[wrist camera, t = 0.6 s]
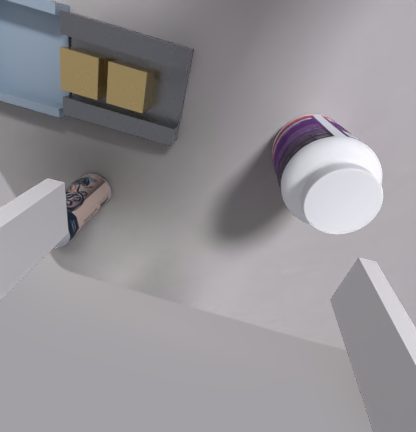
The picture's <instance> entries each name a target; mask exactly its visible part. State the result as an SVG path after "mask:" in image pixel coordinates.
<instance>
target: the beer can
mask: <svg viewBox="0 0 416 432" xmlns="http://www.w3.org/2000/svg"><path fill="white" fill-rule="evenodd" d="M65 194H66V207H67V220H68V234H67V235H66V236H65V237H64V238H63V239H62V240H61V241H60V242H59V243H58V244H57V245H56V246H55V247H54V248H53V249H57V248H60V247H63V246H65V245H66V244H67V243H68V242H69V241H70V240H71V239H72V238H73V237H74V236H75V235H76V234H77V233H78V232H79V230H80V229H81V228H82V227H83V226H84V225H85V224H86V223H87V222H88V221H89V220H90V219H91V218H92V217H93V216H94V215H95V214H96V213H97V212H98V211H99V210H100V209H101V208H102V207H103V206H104V205H105V204H106V202H108V201H109V199H110V197H111V188H110V186H109V184H108V183H107V181H106V180H105V179H104V178H102V177H101V176H99V175H96V174H92V173H89V174H85V175H83V176H82V177H80V178H79V179H77V180H76V181H75V182H73V183H72V184H71V185H69V186H68V187H66V188H65Z"/></svg>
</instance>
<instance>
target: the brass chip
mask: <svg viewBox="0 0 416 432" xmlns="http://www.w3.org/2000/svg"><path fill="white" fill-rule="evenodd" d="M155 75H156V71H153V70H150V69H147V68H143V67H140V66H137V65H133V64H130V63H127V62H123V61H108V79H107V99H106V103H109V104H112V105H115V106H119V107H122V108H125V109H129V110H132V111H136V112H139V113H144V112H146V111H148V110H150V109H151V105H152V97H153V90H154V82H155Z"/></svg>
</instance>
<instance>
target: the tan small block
mask: <svg viewBox="0 0 416 432" xmlns="http://www.w3.org/2000/svg"><path fill="white" fill-rule="evenodd" d="M111 60H112V58H110V57H106V56H103V55H100V54H96V53H93V52H90V51H86V50H83V49H80V48H76V47H60V77H61V90H64V91H68V92H71V93H75V94H78V95H81V96H85V97H88V98H92V99H95V100H100V99H103V98H106V97H107V79H108V61H111Z"/></svg>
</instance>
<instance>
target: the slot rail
mask: <svg viewBox="0 0 416 432" xmlns="http://www.w3.org/2000/svg"><path fill="white" fill-rule="evenodd" d="M60 24H61V34H62V35H65V36H69V37H71V47H76V48H80V49H83V50H86V51H90V52H93V53H96V54H100V55H103V56H106V57H110V58H112V60H111V61H123V62H127V63H130V64H133V65H137V66H140V67H143V68H147V69H150V70H153V71H156V75H155V82H154V90H153V97H152V105H151V109H150V110H148V111H146V112H144V113H139V112H136V111H132V110H129V109H125V108H122V107H119V106H115V105H112V104H109V103H106V99H107V97H106V98H103V99H100V100H95V99H92V98H88V97H85V96H81V95H78V94H75V93H72V95H68V96H63V115H66V116H69V117H73V118H76V119H80V120H83V121H87V122H90V123H93V124H97V125H100V126H104V127H107V128H110V129H114V130H117V131H121V132H124V133H128V134H131V135H134V136H138V137H141V138H145V139H148V140H151V141H155V142H158V143H162V144H165V145H169V146H172V145H173V144H174V143H175V141H176V139H177V134H178V129H179V124H180V118H181V113H182V108H183V103H184V98H185V93H186V87H187V82H188V77H189V72H190V67H191V62H192V56H193V51H194V49H191V48H188V47H184V46H181V45H178V44H174V43H171V42H168V41H164V40H161V39H158V38H154V37H151V36H148V35H144V34H141V33H138V32H134V31H131V30H128V29H124V28H121V27H118V26H114V25H111V24H108V23H104V22H101V21H98V20H94V19H91V18H88V17H84V16H81V15H78V14H74V13H70V12H66V11H62V10H60Z"/></svg>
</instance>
